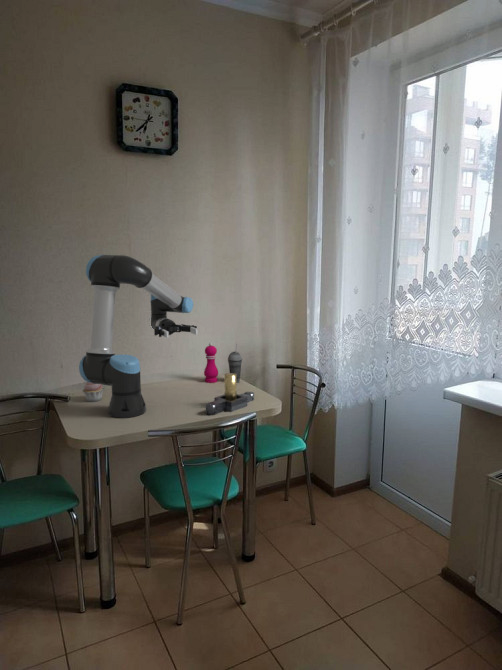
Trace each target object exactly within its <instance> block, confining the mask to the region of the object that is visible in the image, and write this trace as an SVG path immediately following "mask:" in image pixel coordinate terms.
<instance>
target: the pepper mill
mask: <svg viewBox="0 0 502 670" xmlns="http://www.w3.org/2000/svg"><path fill="white" fill-rule="evenodd" d="M217 352H218V351H217V347H216V346H215V345H213V343H212V342H209V343H208V346H206V347H205V349H204V354H205V358H206V365H205V368H204V370H203V371H204V372H203V375H204V377H205V378H204V381H205V383H208V384H214V383H217V382H218V375H219V370H218V367H217V365H216V358H217V357H216V356H217V355H216V354H217Z"/></svg>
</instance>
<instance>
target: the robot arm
mask: <svg viewBox="0 0 502 670" xmlns="http://www.w3.org/2000/svg"><path fill="white" fill-rule="evenodd" d="M85 267H86V268H85V275H86V277H87V280H88V281H89V282H90V283H91V284H90V287H91V288H92V289H93V291H94V294H93V307H92V317H91V318H92V320H91V321H92V322H91V334H90V347H89V348H88V349H87V350H86V352H85V353H86V354H85V355H84V356H83V357H82V358H81V359H80V361H79V365H78V371H79V372H78V373H79V374H80V376H81V378H82V379H83V380H84V381H85V382H90V383H93V384H102V386H104V385H105V386H110V387H111V397H110V401H109V406H108V408H107V409H108V415H109V416H110V417H113V418H118V417H119V419H121V418H122V419H126V418H134V417H138V416H141V415H143V414H145V413H146V411H147V404H146V402H145V399H144V397H143V395H142V385H141V382H142V381H141V365H140V360H139V359H138V358H137V357H136V356H134V355H131V354H123V353H122V354H116V353H115V351H114V350H113V337H114V335H113V334H114V321H115V320H114V318H115V308H116V307H115V305H116V294H117V292H118V291H119V290H120V288H121V287H120V286H121V284H123V285H124V284H125V285H130V286H131V285H132V286H134V287H136V288H138V289H142V290H144V291H146V292H147V293H148V294H150V318H151V326H152V328H153V329H154V330H153V329H152V328H151V329H152V330H153V331H154V332H153V333H154V336H155V337H156V336H158V338H162V337H164V338H167V339H169V338H170V337H169V336H171V335H173V334H174V333H181V332H183V333H184V332H185V333H190V334H193V335H194V336H198V335H199V334H198V328H197V327H198V326H197V325H194V324H192V325H189V324H183V323H181V324H177V323H176V322H175V321H174V320H172V319H171V318H167V317H168V315H167V313H181V314H189V313H191V312H192V311H193V308H194V301H193V299H192V298H191V297H187V296H182V295H181V294H180V293H178V292H177V291H175V290H174V289H173V288H172V287H170V286H169V285H167V283H165V282H164V281H162V280H161V279H160V278H159V277H157V276H156V275H154V273H153V271H152V269H151V268H149V267H148V266H147V265H146V264H144V263H143V262H141V261H139V260H137V259H136V258H134V257H131V256H128V255H124V254H121V255H120V254H119V255H117V254H101V255H99V254H98V255H95V256H92V257H91V258H90V259H89V260H88V262H87V264H86V266H85Z"/></svg>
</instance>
